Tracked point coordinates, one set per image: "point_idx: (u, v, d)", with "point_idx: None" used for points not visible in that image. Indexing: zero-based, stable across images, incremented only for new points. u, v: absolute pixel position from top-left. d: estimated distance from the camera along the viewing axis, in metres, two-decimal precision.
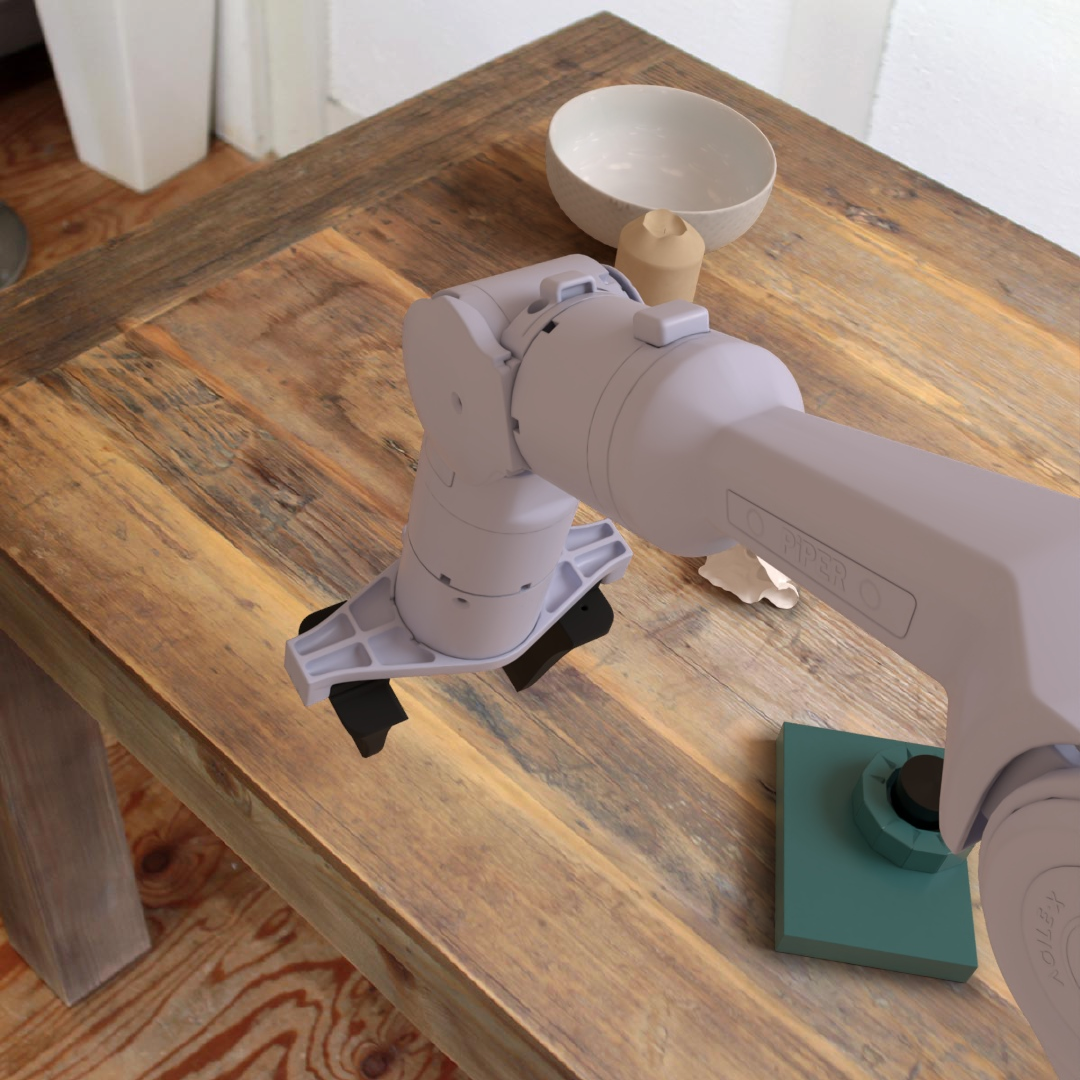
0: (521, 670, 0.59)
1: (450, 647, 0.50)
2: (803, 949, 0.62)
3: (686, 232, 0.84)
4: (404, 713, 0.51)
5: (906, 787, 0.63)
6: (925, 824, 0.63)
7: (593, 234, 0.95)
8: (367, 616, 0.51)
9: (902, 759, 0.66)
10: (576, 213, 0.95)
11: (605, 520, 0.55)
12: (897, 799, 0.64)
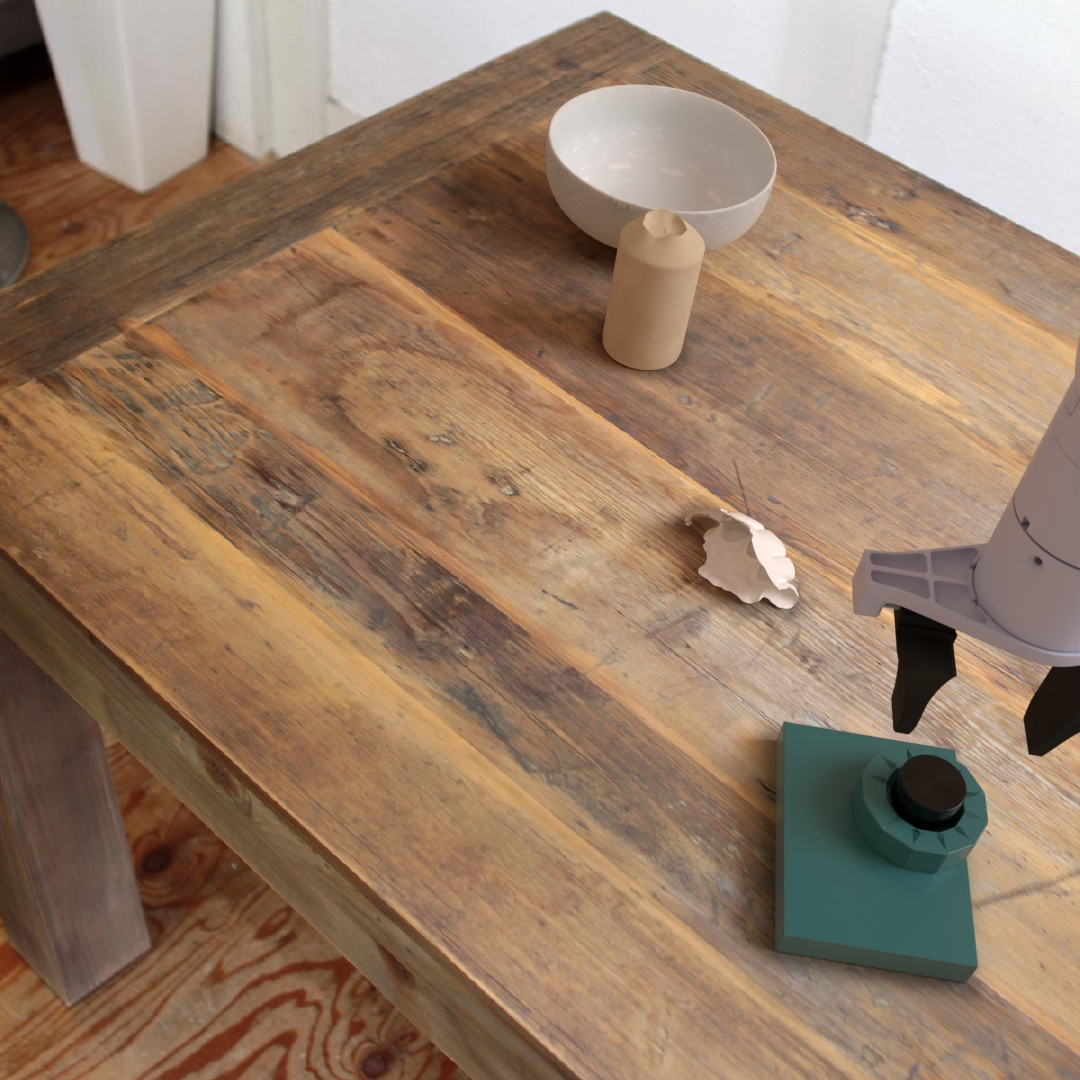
0: (1042, 729, 0.59)
1: (1006, 617, 0.52)
2: (803, 949, 0.62)
3: (686, 232, 0.84)
4: (955, 669, 0.54)
5: (906, 787, 0.63)
6: (925, 824, 0.63)
7: (593, 234, 0.95)
8: (943, 570, 0.55)
9: (902, 759, 0.66)
10: (576, 213, 0.95)
11: None
12: (897, 799, 0.64)
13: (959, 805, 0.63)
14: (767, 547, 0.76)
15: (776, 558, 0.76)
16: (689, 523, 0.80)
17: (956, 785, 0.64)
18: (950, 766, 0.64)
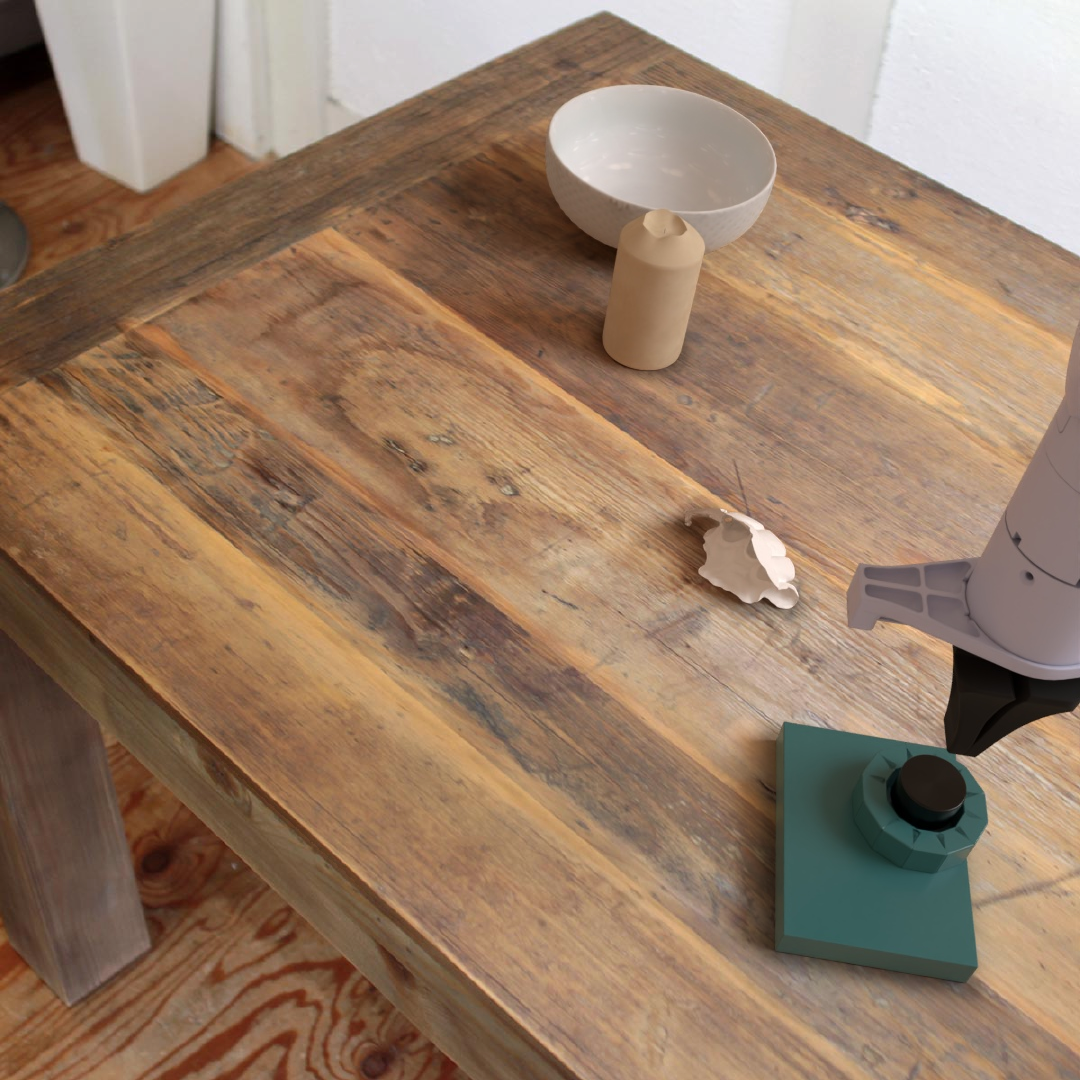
0: None
1: (998, 630, 0.52)
2: (803, 949, 0.62)
3: (686, 232, 0.84)
4: (1013, 693, 0.54)
5: (906, 787, 0.63)
6: (925, 824, 0.63)
7: (593, 234, 0.95)
8: (936, 584, 0.55)
9: (902, 759, 0.66)
10: (576, 213, 0.95)
11: None
12: (897, 799, 0.64)
13: (959, 805, 0.63)
14: (767, 547, 0.76)
15: (776, 558, 0.76)
16: (689, 523, 0.80)
17: (956, 785, 0.64)
18: (950, 766, 0.64)
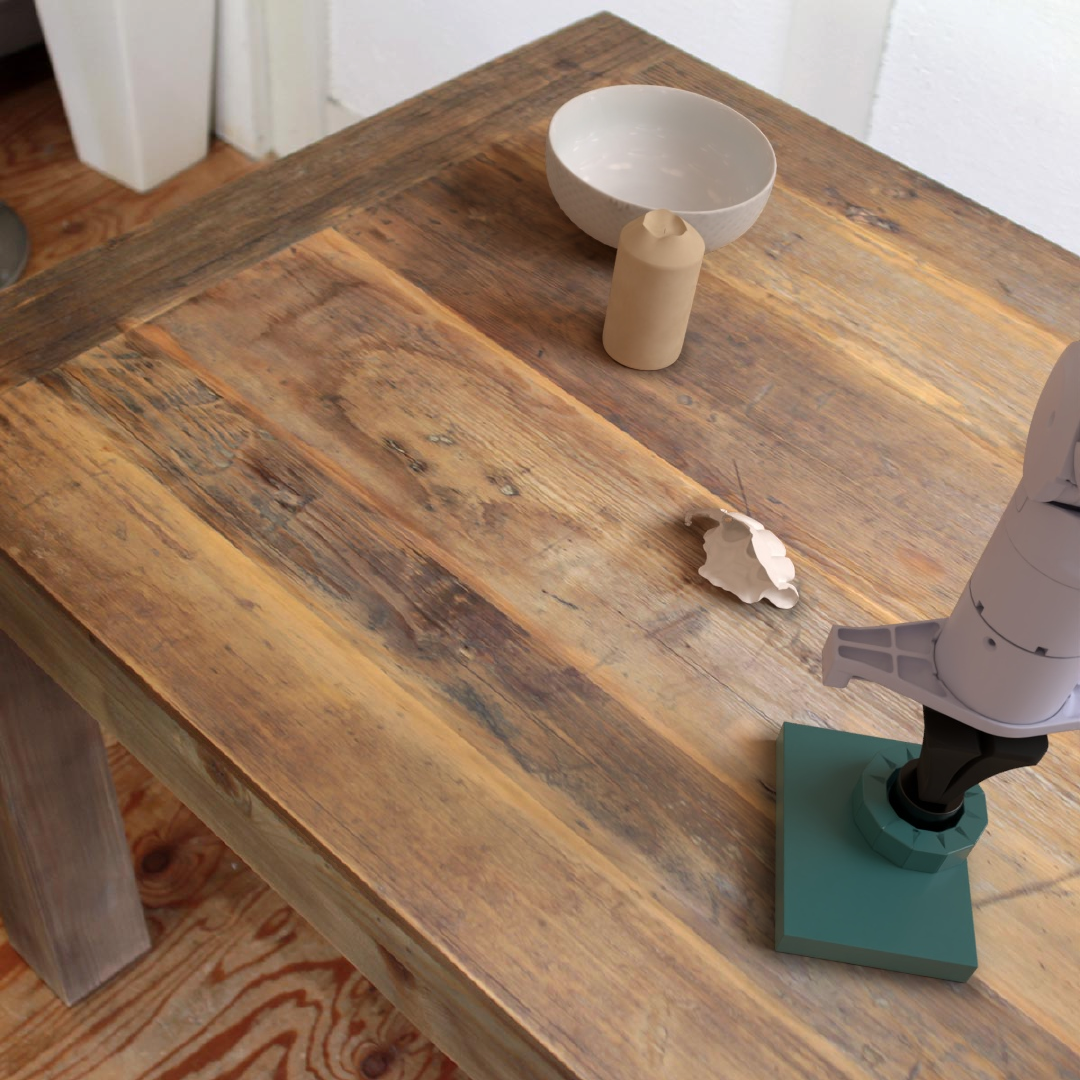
0: None
1: (963, 691, 0.55)
2: (803, 949, 0.62)
3: (686, 232, 0.84)
4: (979, 749, 0.57)
5: (904, 790, 0.63)
6: (923, 827, 0.64)
7: (593, 234, 0.95)
8: (906, 644, 0.58)
9: (902, 759, 0.66)
10: (576, 213, 0.95)
11: None
12: (896, 803, 0.64)
13: (957, 808, 0.63)
14: (767, 547, 0.76)
15: (776, 558, 0.76)
16: (689, 523, 0.80)
17: None
18: None
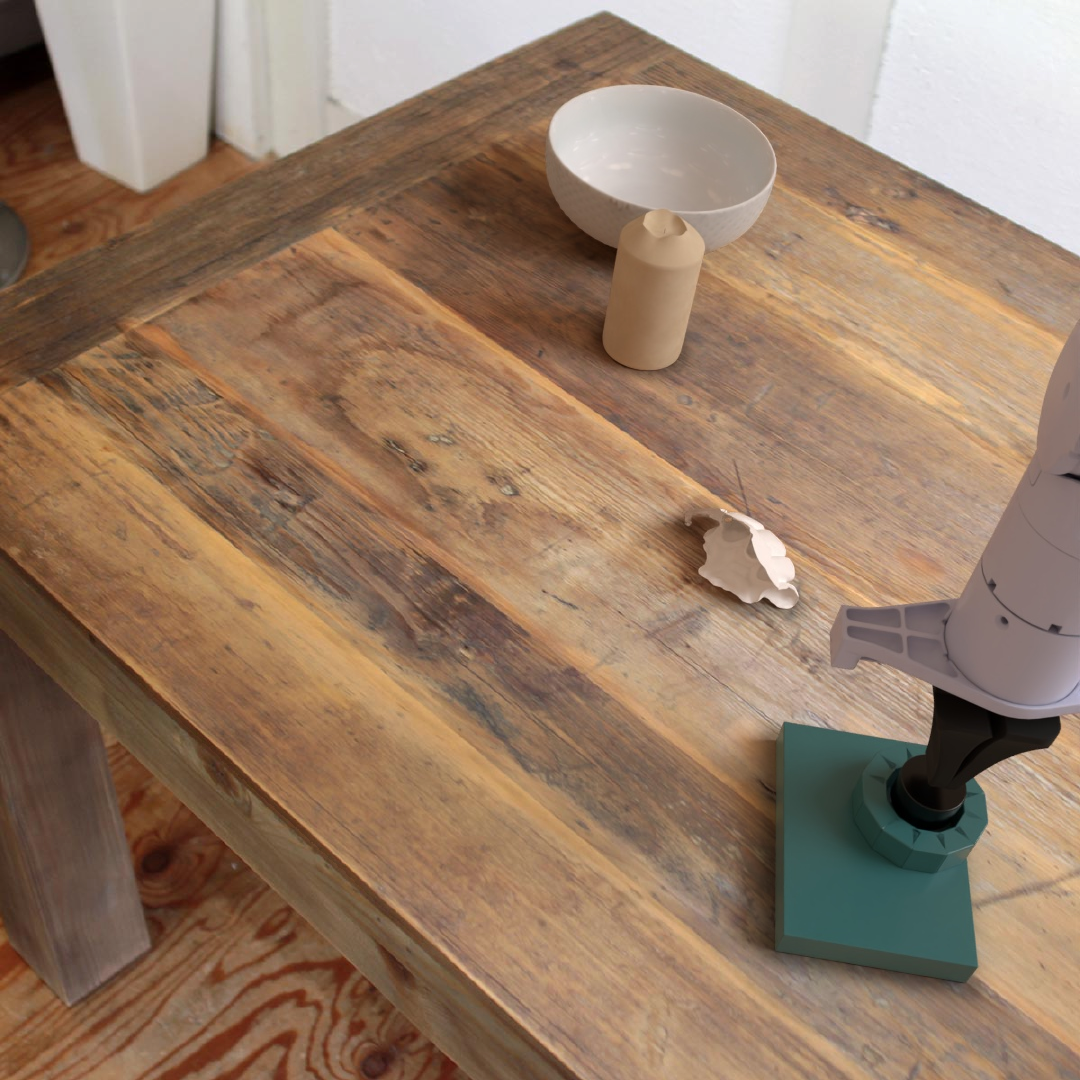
0: None
1: (975, 671, 0.54)
2: (803, 949, 0.62)
3: (686, 232, 0.84)
4: (991, 731, 0.56)
5: (906, 787, 0.63)
6: (925, 824, 0.63)
7: (593, 234, 0.95)
8: (916, 625, 0.57)
9: (902, 759, 0.66)
10: (576, 213, 0.95)
11: None
12: (897, 799, 0.64)
13: (959, 805, 0.63)
14: (767, 547, 0.76)
15: (776, 558, 0.76)
16: (689, 523, 0.80)
17: None
18: None
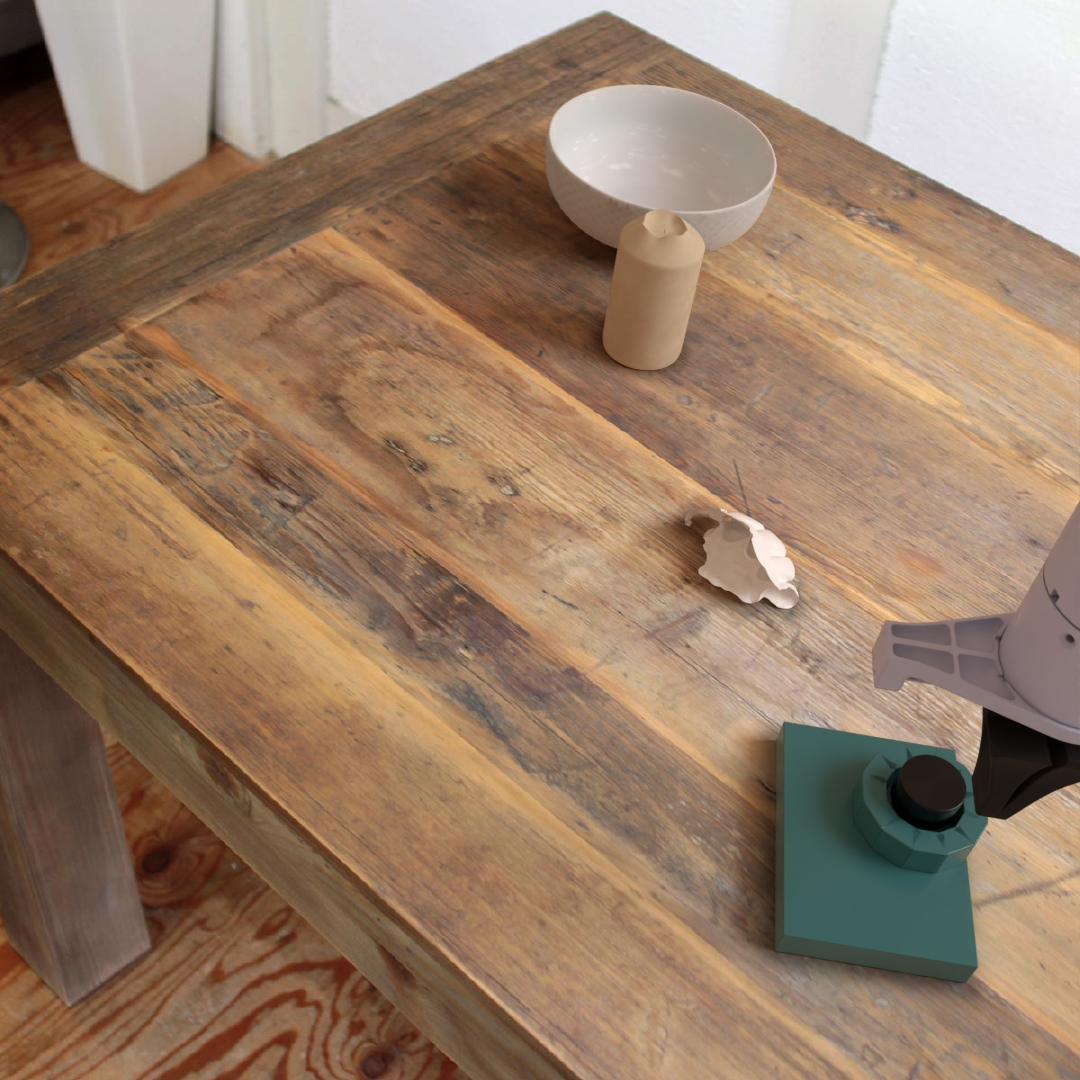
0: None
1: (1035, 694, 0.49)
2: (803, 949, 0.62)
3: (686, 232, 0.84)
4: (1050, 758, 0.51)
5: (906, 787, 0.63)
6: (925, 824, 0.63)
7: (593, 234, 0.95)
8: (967, 642, 0.52)
9: (902, 759, 0.66)
10: (576, 213, 0.95)
11: None
12: (897, 799, 0.64)
13: (959, 805, 0.63)
14: (767, 547, 0.76)
15: (776, 558, 0.76)
16: (689, 523, 0.80)
17: (956, 785, 0.64)
18: (950, 766, 0.64)
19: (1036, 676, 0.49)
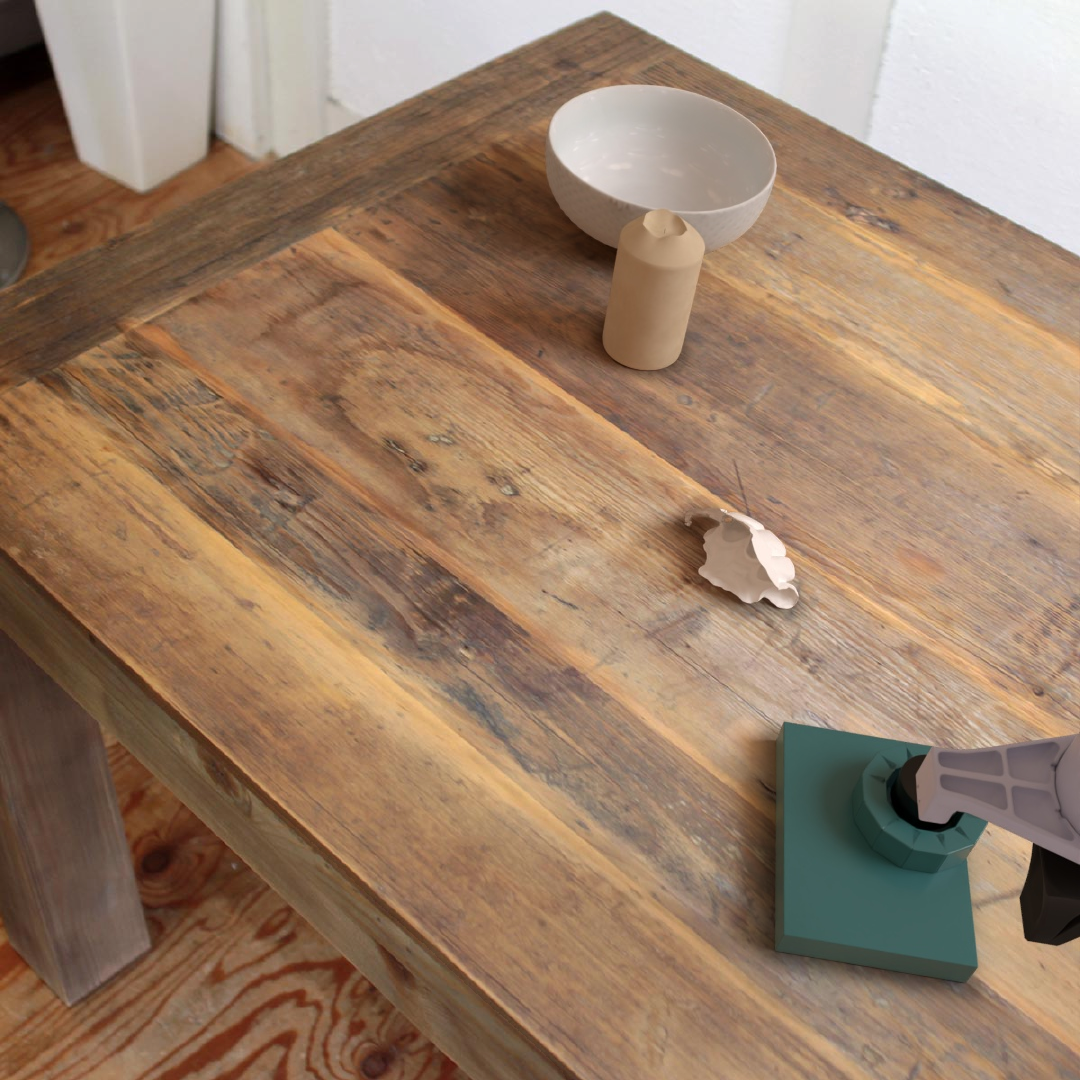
0: None
1: None
2: (803, 949, 0.62)
3: (686, 232, 0.84)
4: None
5: (906, 787, 0.63)
6: (925, 824, 0.63)
7: (593, 234, 0.95)
8: (1020, 769, 0.48)
9: (902, 759, 0.66)
10: (576, 213, 0.95)
11: None
12: (897, 799, 0.64)
13: None
14: (767, 547, 0.76)
15: (776, 558, 0.76)
16: (689, 523, 0.80)
17: None
18: None
19: None
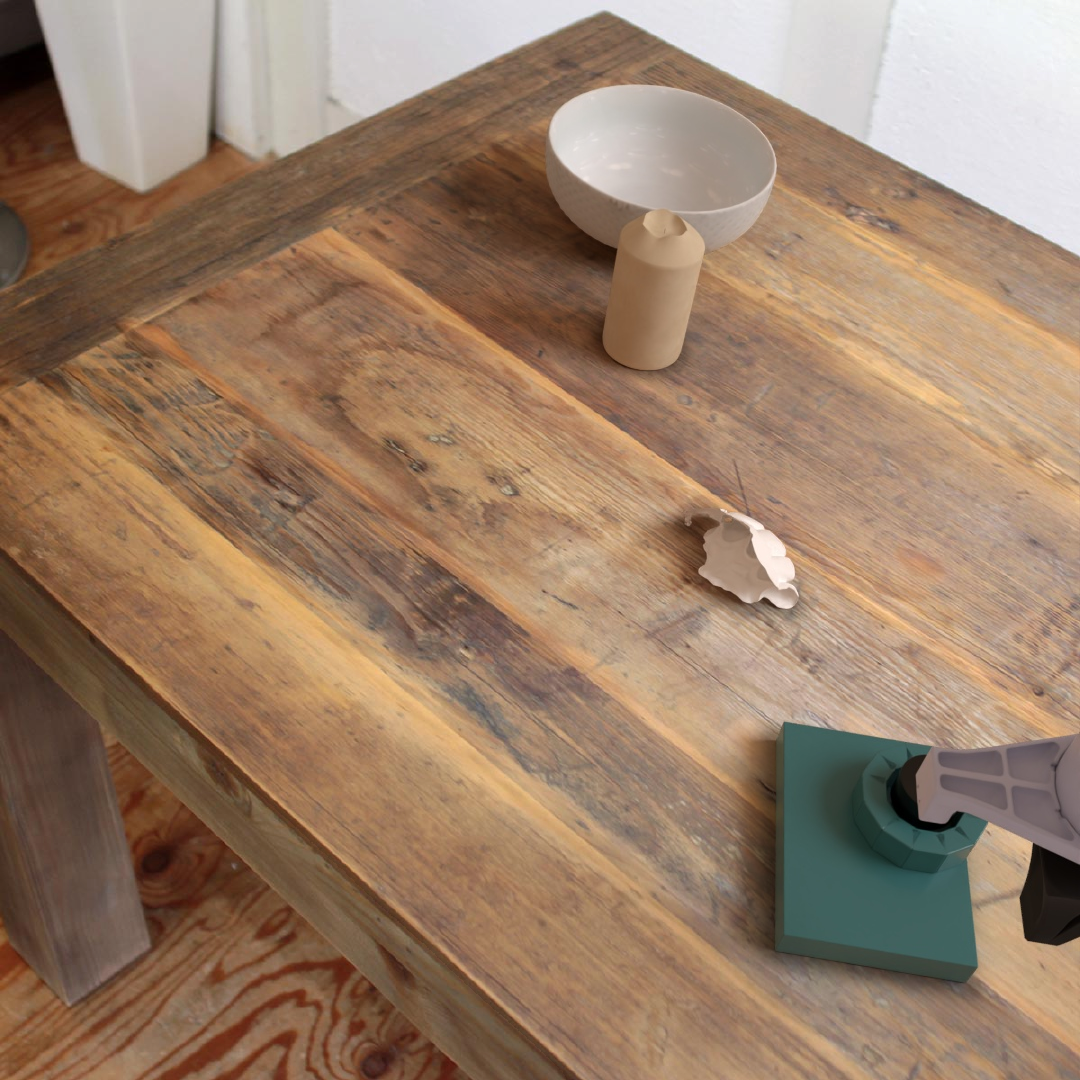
0: None
1: None
2: (803, 949, 0.62)
3: (686, 232, 0.84)
4: None
5: (906, 787, 0.63)
6: (925, 824, 0.63)
7: (593, 234, 0.95)
8: (1020, 769, 0.48)
9: (902, 759, 0.66)
10: (576, 213, 0.95)
11: None
12: (897, 799, 0.64)
13: None
14: (767, 547, 0.76)
15: (776, 558, 0.76)
16: (689, 523, 0.80)
17: None
18: None
19: None
